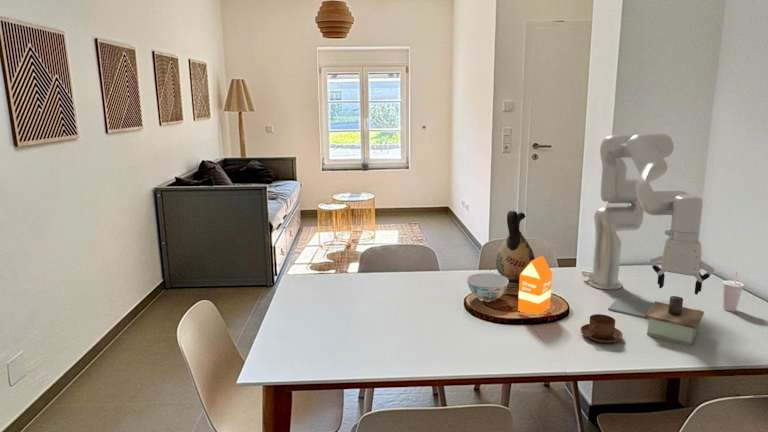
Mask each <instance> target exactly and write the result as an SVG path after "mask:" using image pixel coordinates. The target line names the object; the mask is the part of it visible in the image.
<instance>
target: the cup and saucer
mask: <svg viewBox="0 0 768 432" xmlns="http://www.w3.org/2000/svg"><path fill="white" fill-rule="evenodd" d="M580 332H581V334H582V335H584V337H586V338H587V339H589V340H592V341H594V342H598V343H604V344H605V343H608V344H609V343H616V342H618V341H620V340H621V339H622V338H623V333H622V331H621V330H619V329H618V328H616V319H615V318H613V317H612V316H611V315H610V316H609V315H607V314H601V313H599V314H598V313H597V314H596V313H595V314H592V315H590V316H589V323H587V324H584V325H582V326H581V327H580Z"/></svg>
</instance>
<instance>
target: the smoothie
mask: <svg viewBox="0 0 768 432" xmlns="http://www.w3.org/2000/svg"><path fill="white" fill-rule="evenodd" d="M737 280H738V271H737V270H735V275H734V280H732V279H731V280H728V279H726V280H723V281H722V282H721V286H722V308H723V310H724V311H727V312H731V313H732V312H736V311H737V308H738V305H739V301H740V298H741V296H742V292H743V290H744V288H745V284H744V283H742V282H741V281H737Z"/></svg>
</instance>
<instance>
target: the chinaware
mask: <svg viewBox="0 0 768 432" xmlns="http://www.w3.org/2000/svg"><path fill="white" fill-rule="evenodd" d="M466 281H467V285H468V288H469V289H470V291H471V293H472V294H473V295H474V296H475V297H477V299H478V298H480V299H484V300H494V299H496V300H497V299H499V298H501V296H503V294H505V292H506V291H507V288H508V286H509V284H508V283H509V280H508V279H507V278H506V277H504V276H501V275H500V274H499V273H498V274H497V273H491V272H490V273H489V272H483V273H482V272H478V273H473V274H471V275H468V276H467V279H466Z"/></svg>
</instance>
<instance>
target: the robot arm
mask: <svg viewBox="0 0 768 432" xmlns="http://www.w3.org/2000/svg"><path fill="white" fill-rule="evenodd" d="M674 147H675V146H674V141H673V139H672V138H671V137H670V136H669V134H666V133H659V132H658V133H657V132H656V133H639V134H638V133H636V134H635V133H633V134H631V133H630V134H628V133H627V134H626V133H624V134H611V135H608V136H606V137H604V139H603V140H602V141H601V144H600V147H599V149H600V151H599V153H600V154H599V155H600V160H601V166H602V167H601V169H602V170H601V181H600V199H601V200H602V202H604V203H606V204H626V205H624V206H623V205H622V206H621V205H620V206H619V205H614V206H604V207H600V208H598V209H597V210H596V211H595V213H594V215H593V219H594V230H595V231H594V232H595V236H594V251H593V252H594V253H593V261H592V263H593V264H592V270H590V271H588V270H585V269H582V270H581V275H582V276H583V277H587V278H588V279H587V284H588V285H589V286H590V287H594V288H597V289H601V290H619V289H621V288H622V286H623V282H621V281H620V280H619V275H620V264H621V263H620V261H621V252H622V251H621V250H622V240H621V238H620V237H619V235H618V234H617V232H621V231H622V232H624V231H625V232H626V231H627V232H629V231H637V230H639V229H640V228H641V227H642V224H643V220H644V213H646V214H648V215H650V216H671V221H670V222H671V223H670V229H669V230H668V229H667V230H665V231H664V235H667V236H668V238H666V240H665V243H664V246H663V247H664V248H663V252H662V255H660V256H657V257H653V258H651V259H650V260H649V263H650V265H651V267H652V270H654V272H655V273H656V274H657V285H658V288H659V289H662V288H664V285H665V272H668V273H672V274H680V275H685V276H693V277H694V278H695V279H696V281H695V285H694V287H695V288H694V295H696V296H697V295H698V294H699V293H700V292H702V286H703V282H704V281H705V280H708V278H710V277H711V275H712V274H713V273H714V272H715V268H714V267H713V266H711V265H710V264H708V263H706V262H704V261H703V260H702V243H701V241H699V239H700V238H699V237H700V231H701V230H700V229H701V219H702V211H703V199H702V197H701V196H697V195H691V194H690V193H689V192H686V191H683V190H659V191H658V190H657V191H655V190H653V188H652V186H651V184H650V183H652V182H653V181H655V180H657V179H659V178H661V177H662V176H664V175H665V174H666V172H667V170H668V162H667V161H666V158H669V157H670V156H671V155H672V153H673V151H674ZM623 158H626V159H627V158H629V159H631V160H632V161H633V163H634V165H635V167H636V169H637V171H638V172H639V175H638V178H635V177H634V178H629V177H628V178H627V165H626V162H625V161H624V159H623ZM659 262H661V266H660V267H661V268H660V267H659V265H658V264H657V263H659ZM701 268H703V269H704V270H706V272H705V273H704V274H702V273H701V272H700V271H701Z"/></svg>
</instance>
